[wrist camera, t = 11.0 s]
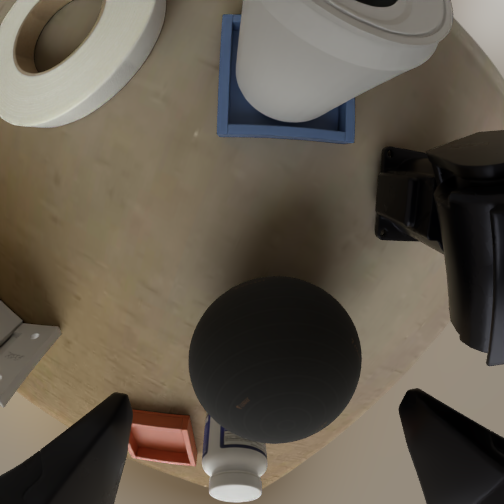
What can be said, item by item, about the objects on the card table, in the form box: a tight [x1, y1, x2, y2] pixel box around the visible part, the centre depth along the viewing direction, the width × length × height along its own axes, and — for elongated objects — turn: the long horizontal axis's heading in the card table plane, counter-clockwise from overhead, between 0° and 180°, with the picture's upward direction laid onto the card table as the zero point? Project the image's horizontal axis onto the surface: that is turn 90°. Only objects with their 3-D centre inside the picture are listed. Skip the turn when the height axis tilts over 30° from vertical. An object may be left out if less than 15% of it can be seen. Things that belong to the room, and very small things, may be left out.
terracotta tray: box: [128, 409, 197, 466], centre depth 24 cm, size 7×7×2 cm
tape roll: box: [0, 0, 166, 128], centre depth 12 cm, size 16×15×3 cm
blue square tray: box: [217, 14, 355, 144], centre depth 15 cm, size 8×8×2 cm
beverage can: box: [236, 0, 453, 123], centre depth 10 cm, size 6×6×12 cm
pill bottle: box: [202, 413, 267, 502], centre depth 20 cm, size 5×5×9 cm
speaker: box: [189, 276, 362, 444], centre depth 16 cm, size 10×10×10 cm
